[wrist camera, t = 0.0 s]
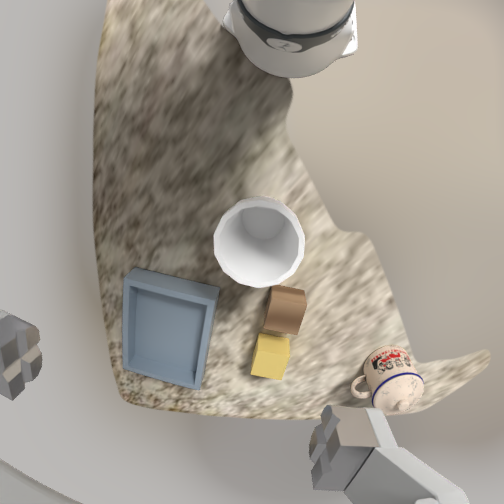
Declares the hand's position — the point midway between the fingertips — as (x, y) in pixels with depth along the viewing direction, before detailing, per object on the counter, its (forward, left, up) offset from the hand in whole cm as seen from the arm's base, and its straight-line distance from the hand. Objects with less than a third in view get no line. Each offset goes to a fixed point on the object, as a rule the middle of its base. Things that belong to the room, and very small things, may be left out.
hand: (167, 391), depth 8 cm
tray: (+25, -9, -39) cm, 47 cm away
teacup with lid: (+25, +28, -39) cm, 54 cm away
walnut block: (+16, +8, -39) cm, 43 cm away
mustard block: (+25, +8, -39) cm, 47 cm away
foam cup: (+4, +2, -39) cm, 39 cm away
